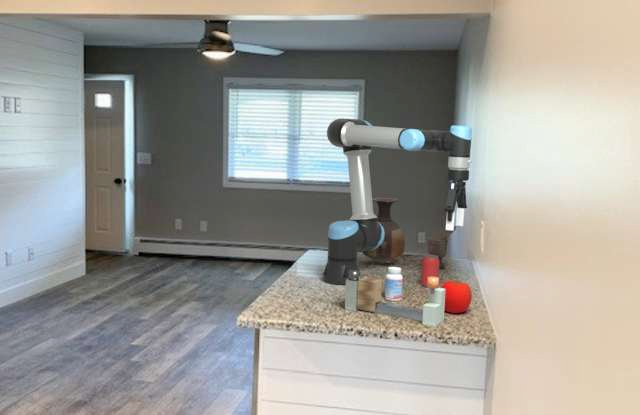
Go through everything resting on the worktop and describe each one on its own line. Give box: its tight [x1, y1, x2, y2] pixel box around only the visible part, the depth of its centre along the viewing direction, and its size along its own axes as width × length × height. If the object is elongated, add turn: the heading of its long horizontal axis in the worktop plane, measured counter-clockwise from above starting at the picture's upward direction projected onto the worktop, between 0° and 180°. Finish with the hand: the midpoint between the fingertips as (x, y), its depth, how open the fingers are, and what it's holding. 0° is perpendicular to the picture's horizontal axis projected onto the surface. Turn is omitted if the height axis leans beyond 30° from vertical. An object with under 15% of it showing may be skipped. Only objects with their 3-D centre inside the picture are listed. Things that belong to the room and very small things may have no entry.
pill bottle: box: [384, 266, 404, 302], centre depth 213 cm, size 6×6×11 cm
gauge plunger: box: [426, 276, 440, 294], centre depth 184 cm, size 3×3×5 cm
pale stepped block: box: [421, 287, 445, 327], centre depth 187 cm, size 4×9×10 cm, turn 150°
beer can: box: [420, 253, 440, 288], centre depth 234 cm, size 7×7×12 cm
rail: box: [344, 269, 423, 322], centre depth 195 cm, size 27×8×13 cm, turn 60°
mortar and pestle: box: [427, 225, 457, 269], centre depth 270 cm, size 12×9×20 cm
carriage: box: [358, 276, 383, 311], centre depth 198 cm, size 6×5×10 cm
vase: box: [361, 197, 406, 265], centre depth 272 cm, size 23×19×30 cm
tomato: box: [440, 280, 473, 314], centre depth 199 cm, size 10×11×11 cm
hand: (454, 227), depth 218 cm, fingers open, 13 cm apart
